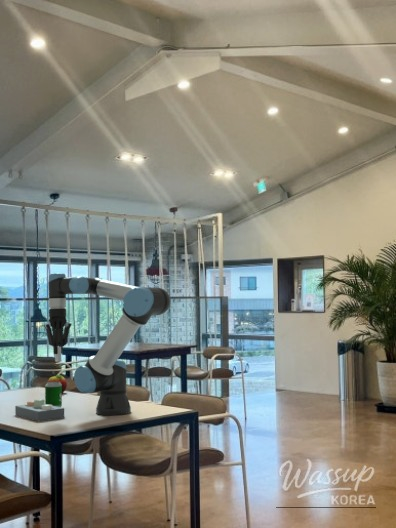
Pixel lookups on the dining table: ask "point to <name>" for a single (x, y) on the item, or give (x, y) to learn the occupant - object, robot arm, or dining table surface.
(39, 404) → the pale green egg
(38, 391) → the dining table surface
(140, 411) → the dining table surface
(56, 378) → the fruit
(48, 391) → the soda can
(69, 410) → the dining table surface
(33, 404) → the brown egg
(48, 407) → the white egg
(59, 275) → the robot arm
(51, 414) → the grey egg holder
